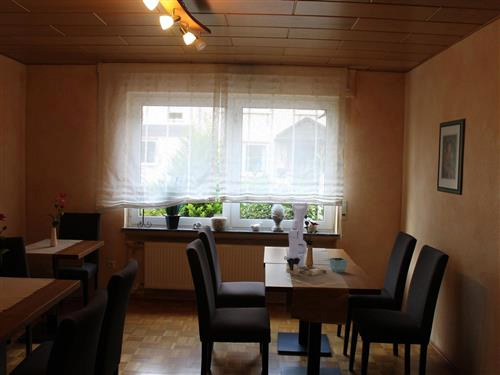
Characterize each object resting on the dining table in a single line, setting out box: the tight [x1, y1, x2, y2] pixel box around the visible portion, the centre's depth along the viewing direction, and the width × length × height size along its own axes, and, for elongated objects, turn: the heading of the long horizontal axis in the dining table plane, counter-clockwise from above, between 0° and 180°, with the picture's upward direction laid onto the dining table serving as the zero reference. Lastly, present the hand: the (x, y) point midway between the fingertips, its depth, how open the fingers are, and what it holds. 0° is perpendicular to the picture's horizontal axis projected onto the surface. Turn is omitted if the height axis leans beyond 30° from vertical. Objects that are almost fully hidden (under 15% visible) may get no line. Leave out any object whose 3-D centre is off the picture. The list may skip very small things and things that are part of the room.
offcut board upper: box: [309, 267, 323, 273], centre depth 300 cm, size 4×8×1 cm, turn 136°
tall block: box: [285, 262, 300, 275], centre depth 300 cm, size 2×9×6 cm, turn 39°
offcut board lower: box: [308, 271, 324, 276], centre depth 300 cm, size 5×10×1 cm, turn 129°
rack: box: [299, 265, 327, 277], centre depth 303 cm, size 14×14×3 cm
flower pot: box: [329, 257, 348, 273], centre depth 308 cm, size 9×9×9 cm
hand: (293, 270), depth 300 cm, fingers closed on tall block, 2 cm apart
